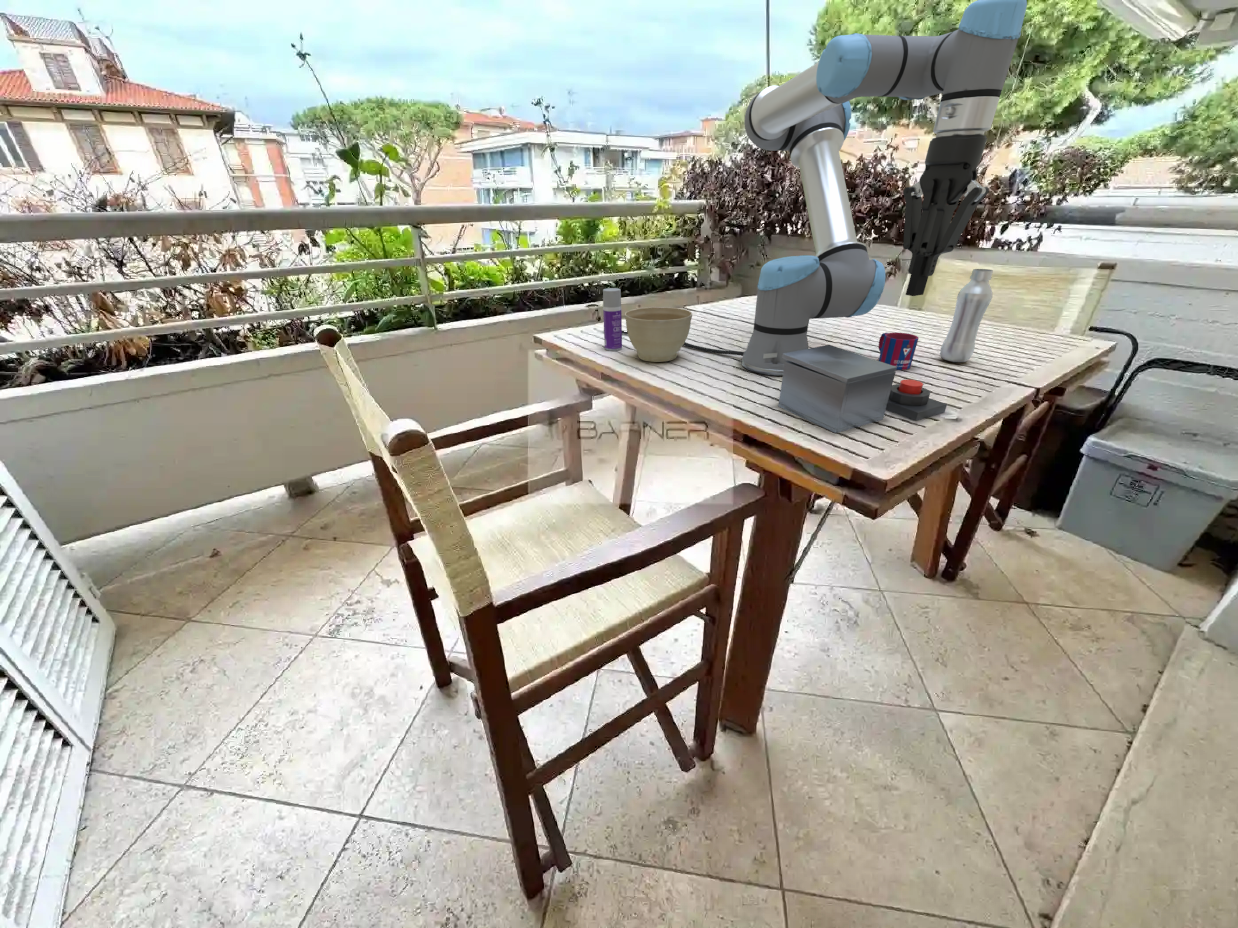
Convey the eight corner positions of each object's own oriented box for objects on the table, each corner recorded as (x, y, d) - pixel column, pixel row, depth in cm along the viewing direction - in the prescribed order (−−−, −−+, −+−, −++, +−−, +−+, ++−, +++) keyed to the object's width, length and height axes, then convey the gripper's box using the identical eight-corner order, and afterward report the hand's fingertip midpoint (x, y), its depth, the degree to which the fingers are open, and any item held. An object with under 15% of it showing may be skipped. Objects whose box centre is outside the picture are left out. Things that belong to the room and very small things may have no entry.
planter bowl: (703, 358, 119) (706, 313, 114) (652, 371, 111) (653, 323, 106) (661, 345, 131) (662, 303, 125) (612, 356, 123) (611, 312, 117)
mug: (886, 370, 108) (894, 340, 105) (866, 357, 117) (872, 329, 113) (916, 370, 108) (925, 339, 105) (893, 357, 117) (900, 328, 113)
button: (893, 390, 89) (896, 381, 88) (906, 387, 90) (909, 378, 89) (911, 396, 86) (914, 387, 85) (924, 393, 87) (927, 383, 86)
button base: (866, 403, 92) (870, 385, 90) (894, 395, 95) (899, 378, 93) (915, 421, 84) (921, 403, 82) (944, 412, 87) (950, 394, 85)
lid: (781, 357, 87) (782, 353, 87) (828, 348, 92) (829, 344, 91) (846, 383, 76) (847, 378, 76) (895, 371, 81) (897, 367, 80)
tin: (777, 406, 91) (784, 361, 87) (822, 395, 96) (831, 352, 91) (835, 433, 80) (846, 383, 76) (882, 420, 85) (895, 371, 81)
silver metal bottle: (960, 357, 116) (990, 267, 106) (975, 365, 110) (1008, 272, 100) (932, 356, 116) (958, 268, 107) (945, 365, 110) (975, 272, 101)
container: (615, 351, 126) (614, 291, 119) (601, 349, 128) (598, 290, 121) (625, 347, 129) (624, 288, 122) (610, 345, 132) (609, 287, 124)
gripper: (904, 138, 78) (868, 290, 90) (988, 130, 67) (935, 304, 79) (935, 138, 80) (896, 286, 92) (1019, 131, 70) (963, 299, 82)
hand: (914, 294), depth 86 cm, fingers closed
